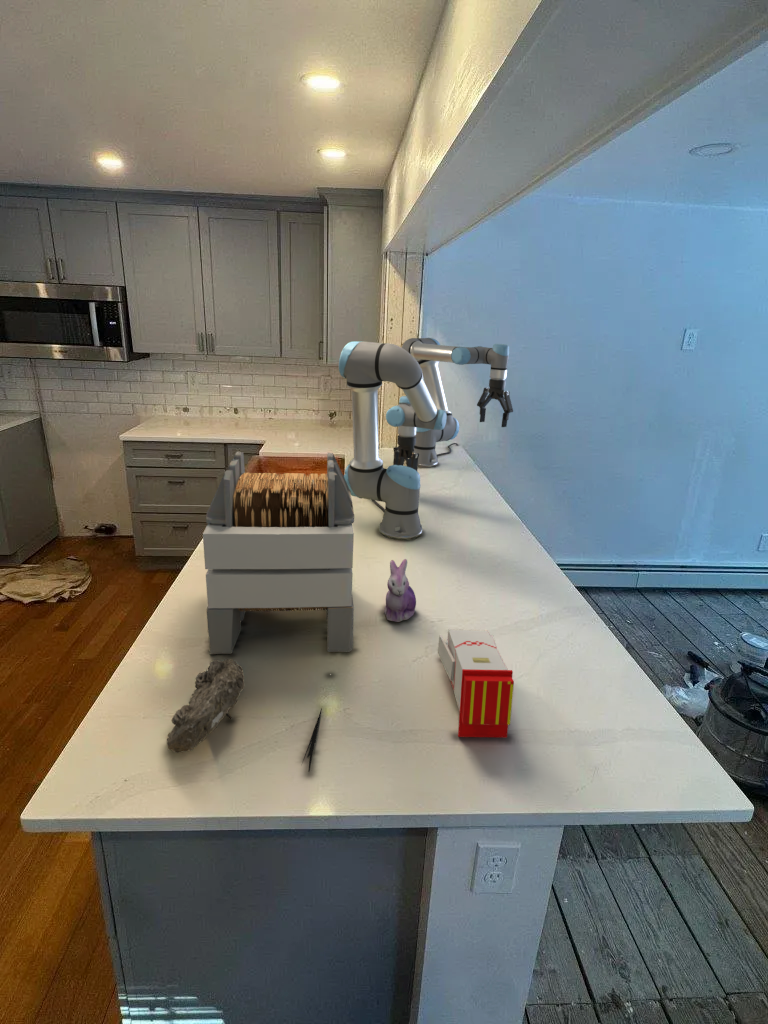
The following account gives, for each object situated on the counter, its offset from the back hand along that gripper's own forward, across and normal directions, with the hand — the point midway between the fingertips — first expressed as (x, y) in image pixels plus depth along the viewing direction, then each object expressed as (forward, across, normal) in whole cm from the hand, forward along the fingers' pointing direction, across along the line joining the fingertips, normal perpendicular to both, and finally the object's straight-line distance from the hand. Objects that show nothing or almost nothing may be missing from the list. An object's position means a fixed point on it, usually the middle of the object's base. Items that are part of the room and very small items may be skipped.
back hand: (492, 424), depth 270 cm
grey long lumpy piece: (+25, -88, +177) cm, 199 cm away
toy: (+25, -112, +131) cm, 174 cm away
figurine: (+25, -79, +123) cm, 148 cm away
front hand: (+21, -6, +59) cm, 63 cm away
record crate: (+25, -63, +148) cm, 163 cm away
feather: (+25, -100, +161) cm, 191 cm away
